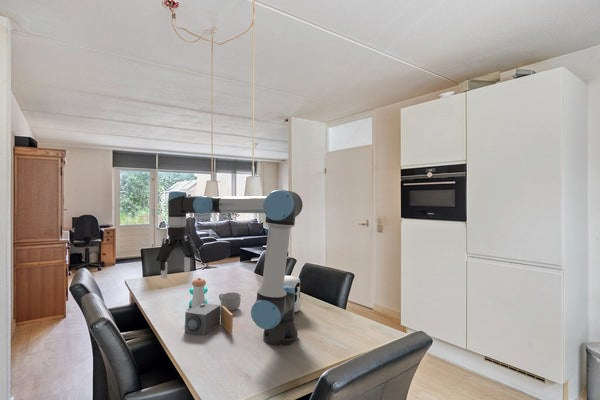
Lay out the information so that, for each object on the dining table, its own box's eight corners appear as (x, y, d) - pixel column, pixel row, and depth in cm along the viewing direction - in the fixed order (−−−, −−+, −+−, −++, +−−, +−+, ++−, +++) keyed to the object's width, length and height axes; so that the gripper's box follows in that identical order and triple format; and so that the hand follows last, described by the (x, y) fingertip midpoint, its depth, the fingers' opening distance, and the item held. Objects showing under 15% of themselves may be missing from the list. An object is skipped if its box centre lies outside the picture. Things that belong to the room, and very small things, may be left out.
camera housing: (220, 323, 153) (220, 303, 153) (202, 337, 137) (202, 314, 137) (201, 321, 155) (202, 301, 155) (182, 334, 140) (182, 312, 140)
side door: (222, 322, 153) (223, 305, 153) (232, 333, 141) (233, 314, 141) (220, 322, 153) (220, 305, 153) (229, 333, 140) (230, 315, 140)
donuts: (201, 290, 173) (185, 289, 176) (200, 309, 173) (185, 307, 176) (211, 286, 183) (196, 284, 186) (210, 303, 182) (196, 301, 185)
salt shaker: (193, 311, 168) (194, 276, 169) (207, 312, 168) (208, 276, 168) (188, 316, 161) (189, 279, 161) (202, 317, 161) (203, 279, 161)
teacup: (244, 309, 174) (244, 295, 174) (227, 314, 166) (228, 299, 166) (229, 303, 183) (230, 290, 183) (213, 308, 175) (213, 293, 175)
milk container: (282, 304, 185) (283, 273, 185) (306, 310, 175) (307, 278, 175) (262, 312, 171) (263, 278, 171) (288, 319, 161) (289, 284, 161)
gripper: (190, 224, 151) (189, 268, 151) (147, 227, 128) (146, 280, 128) (202, 225, 149) (201, 270, 148) (161, 228, 126) (160, 281, 125)
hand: (176, 274), depth 138 cm, fingers open, 13 cm apart
